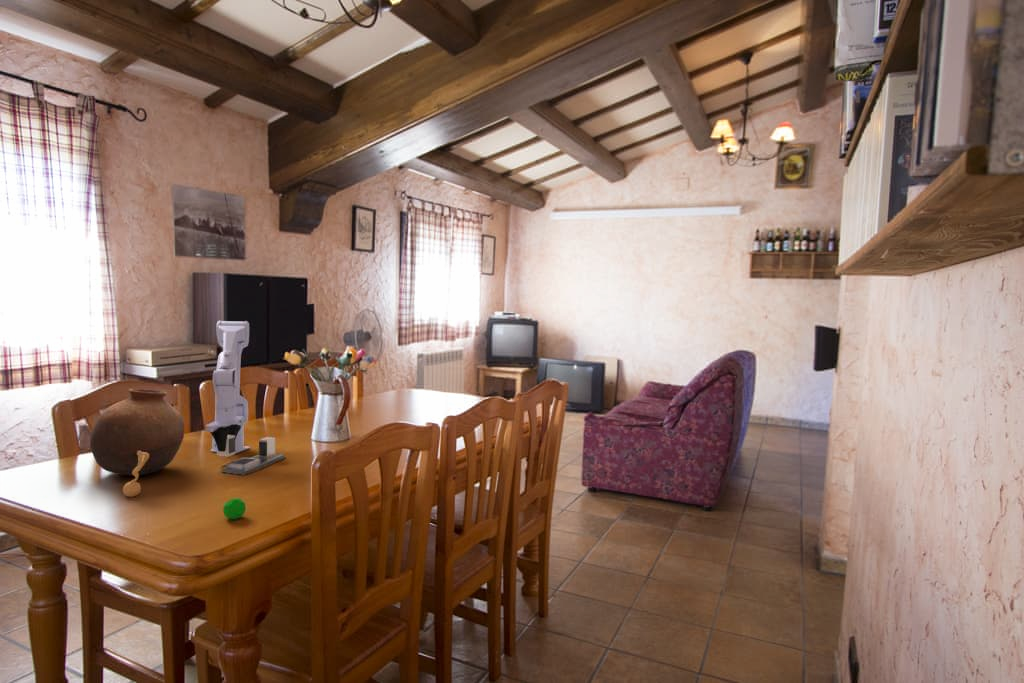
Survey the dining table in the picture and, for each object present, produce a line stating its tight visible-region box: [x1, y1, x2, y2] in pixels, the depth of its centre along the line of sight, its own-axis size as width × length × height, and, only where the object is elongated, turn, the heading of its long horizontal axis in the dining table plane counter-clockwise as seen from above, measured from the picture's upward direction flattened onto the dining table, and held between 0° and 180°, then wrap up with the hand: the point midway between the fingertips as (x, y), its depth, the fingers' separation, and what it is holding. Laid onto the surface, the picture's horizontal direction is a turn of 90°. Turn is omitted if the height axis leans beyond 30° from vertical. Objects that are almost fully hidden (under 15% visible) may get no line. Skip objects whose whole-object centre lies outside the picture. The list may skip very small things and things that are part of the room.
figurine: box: [122, 451, 149, 498], centre depth 157 cm, size 8×6×12 cm
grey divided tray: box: [220, 436, 286, 476], centre depth 188 cm, size 8×20×7 cm, turn 166°
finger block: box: [216, 435, 236, 457], centre depth 188 cm, size 3×4×6 cm
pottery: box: [89, 388, 186, 477], centre depth 175 cm, size 23×23×25 cm
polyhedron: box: [222, 497, 247, 520], centre depth 144 cm, size 5×5×5 cm
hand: (225, 449), depth 188 cm, fingers closed on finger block, 3 cm apart
